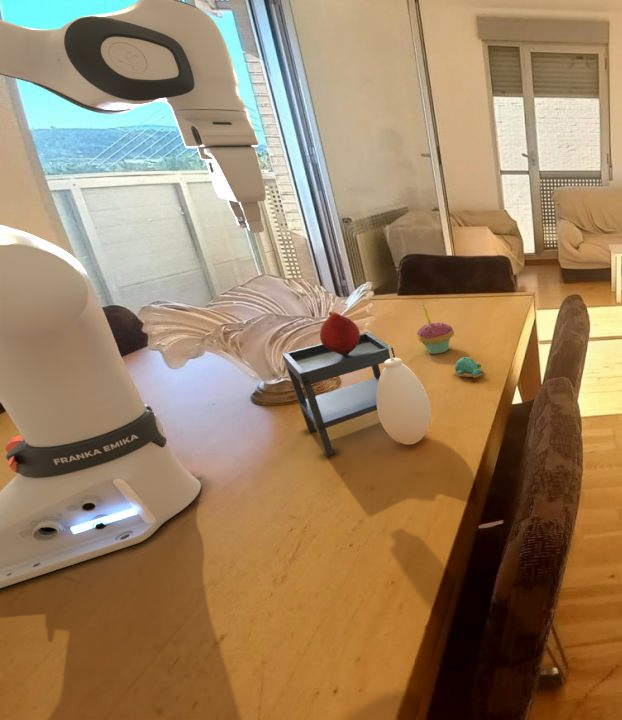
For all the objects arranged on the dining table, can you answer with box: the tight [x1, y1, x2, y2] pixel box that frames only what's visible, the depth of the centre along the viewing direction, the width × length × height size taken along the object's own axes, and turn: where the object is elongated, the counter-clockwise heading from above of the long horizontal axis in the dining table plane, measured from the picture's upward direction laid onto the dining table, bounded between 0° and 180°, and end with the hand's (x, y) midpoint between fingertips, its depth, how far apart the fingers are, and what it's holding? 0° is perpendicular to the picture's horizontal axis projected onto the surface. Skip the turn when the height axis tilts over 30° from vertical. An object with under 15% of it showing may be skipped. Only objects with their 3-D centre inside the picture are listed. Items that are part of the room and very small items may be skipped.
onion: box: [319, 310, 361, 356], centre depth 80 cm, size 6×6×8 cm
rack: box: [281, 331, 396, 457], centre depth 84 cm, size 14×12×15 cm
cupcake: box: [416, 304, 455, 355], centre depth 118 cm, size 9×8×12 cm
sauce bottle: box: [376, 344, 432, 445], centre depth 78 cm, size 8×8×18 cm
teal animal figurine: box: [454, 356, 485, 379], centre depth 105 cm, size 6×7×4 cm
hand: (251, 229), depth 76 cm, fingers open, 8 cm apart
